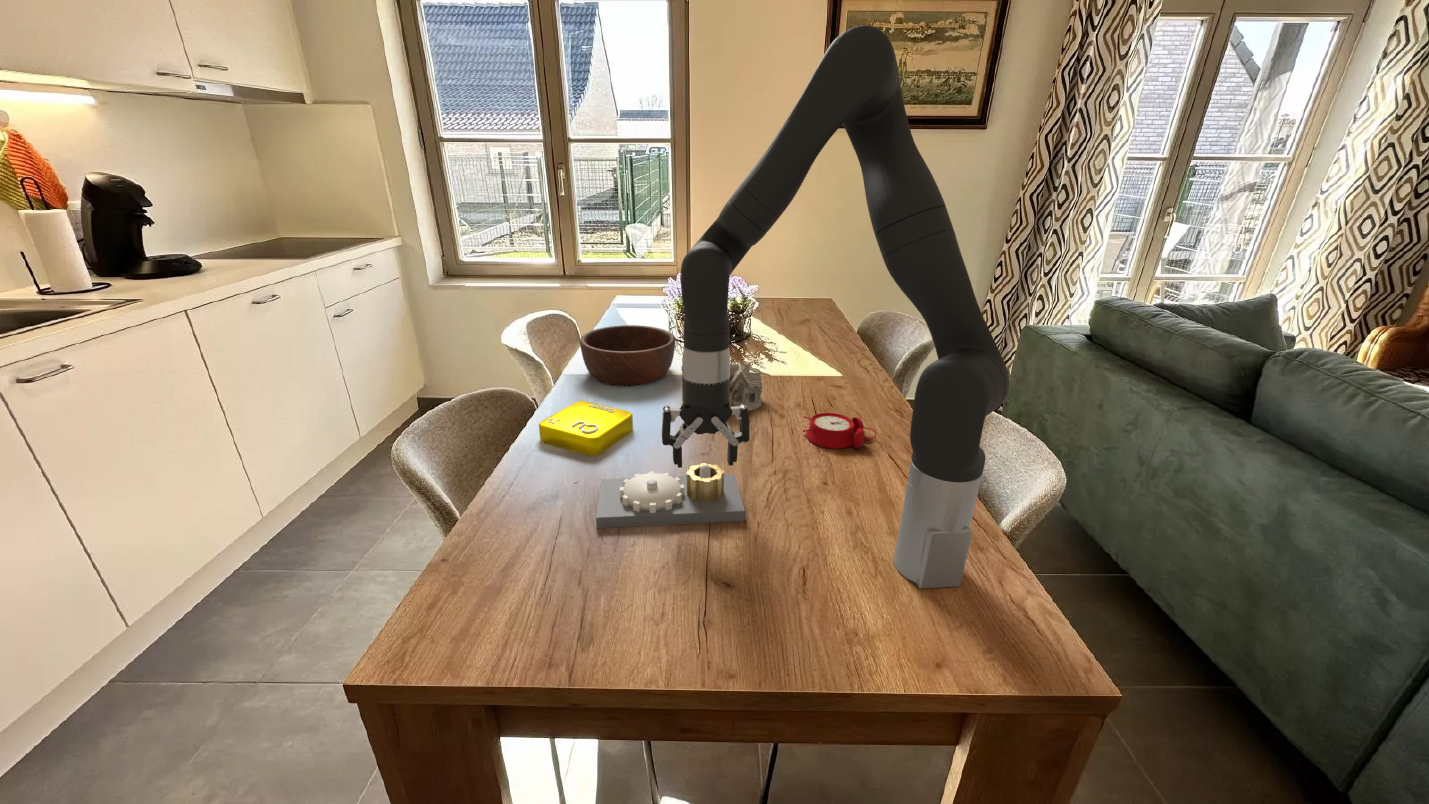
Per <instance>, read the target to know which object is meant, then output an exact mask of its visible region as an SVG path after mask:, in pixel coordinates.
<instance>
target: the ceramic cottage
mask: <svg viewBox="0 0 1429 804" xmlns="http://www.w3.org/2000/svg"><path fill="white" fill-rule="evenodd" d="M762 385H763V383H762V373H761V371H760V372H759V371H757V372H755V371H751V369H750V362H749V361H745V362H744V363H743V365H742V364H741V363H740V362H738V363H730V394H729V405H730V407H735V406H739V405H740V404H742V403H744V404H746V406H747V408H748V410H750V411H752V410H756V409H758V408H761V406H762V404H761V403H762V400H763V399H762V397H761V395H762V392H763V386H762ZM733 415H734V414H732V415H731V417H733ZM734 416H735V415H734Z"/></svg>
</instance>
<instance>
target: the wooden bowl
mask: <svg viewBox="0 0 1429 804" xmlns="http://www.w3.org/2000/svg"><path fill="white" fill-rule="evenodd" d="M579 346H580V351H581V355H582V360H583V362H584V366H585V367H586V370H587V371H588V373H589V374H590V375H591V377H592V378H593V379H594V380H595V381H597V382H599V383H602V384H605V385H608V386H614V385H615V387H637V385H639V386H644V385H650V384H653V383H655V382H658V381H660V380H661V378H662V379H663V378H664V377H666V376H667V373H668V372H669V371H670V368H671V367H672V363H673V362H674V361H673V360H674V356H675V348H676V337H675V335H674V334H673V333H671V332H670V331H669V330H666V329H663V328H659V327H655V326H650V325H649V326H648V325H639V324H637V325H636V324H629V325H628V324H626V325H625V324H623V325H621V324H620V325H612V326H604V327H600V328H596V329H592V330H589V331H588V332H586V333H584V334H583V335H582V336H581V337H580V340H579Z"/></svg>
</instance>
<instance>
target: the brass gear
mask: <svg viewBox="0 0 1429 804" xmlns="http://www.w3.org/2000/svg"><path fill="white" fill-rule="evenodd" d="M702 465H708V466H709V467H710V469H711V476H710V478H700V468H701V466H702ZM724 474H725V471H724V469H721V467H720V465H717V464H710V463H708V464H707V462H701V463H700V464H696V465H691V466H690V467H689V468H688V470H687V471H686V476H687V495H690V497H691V499H692V500H694V501H696V500H698V501H704V503H707V502H710V501H714V500H715V499H716V500H719V499H720V498H721V493H724Z"/></svg>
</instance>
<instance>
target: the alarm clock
mask: <svg viewBox="0 0 1429 804" xmlns="http://www.w3.org/2000/svg"><path fill="white" fill-rule="evenodd" d="M803 418H804V419H808V420H809V427H808V429H803V430H802V432H803V433H805V434H804V437H806V439H807V440H808V441H810V443H812V444H813V445H816V446H818V447H821V448H826V449H834V450H835V449H837V450H838V449H846V448H849V447H852V446H853V448H854V449H860V448H861V447H862V446H863V443H864V441H867V440H872V439H875V438H876V437H877V432H876V431H875V429H873V428H870V427H866V426H865V425H864V423H863V421H862V419H861V418H860V417H856V416H854V417H852V419H851V418H850V417H848V416H845V415H843V414H841V413H840V414H839V413H833V412H832V413H831V412H821V413H817V414H815V415H812V417H807V416H805V415H804V416H803ZM864 429H866V430H870V431H873V432H874V436H872V437H865V435H866V433H865V430H864Z"/></svg>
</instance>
